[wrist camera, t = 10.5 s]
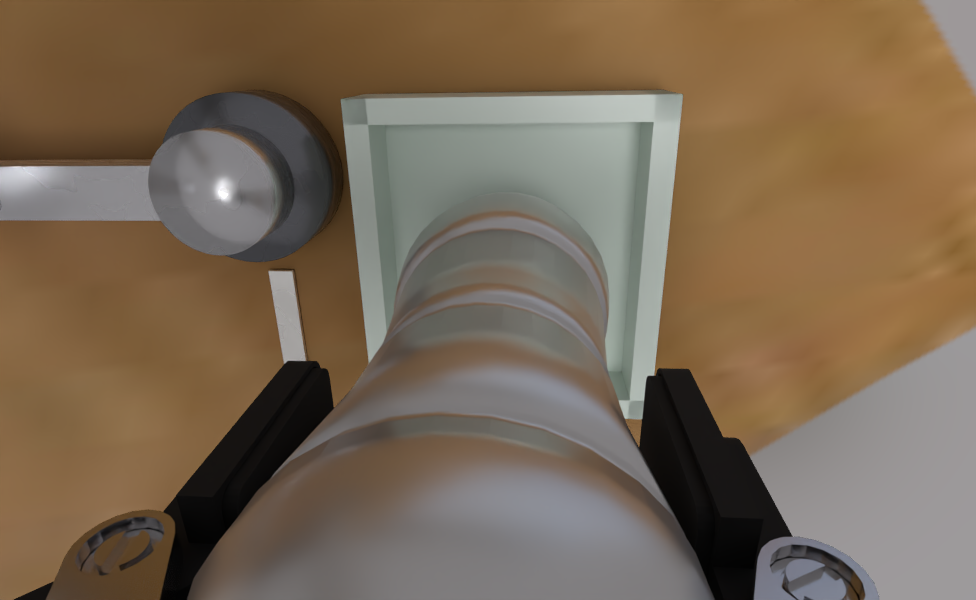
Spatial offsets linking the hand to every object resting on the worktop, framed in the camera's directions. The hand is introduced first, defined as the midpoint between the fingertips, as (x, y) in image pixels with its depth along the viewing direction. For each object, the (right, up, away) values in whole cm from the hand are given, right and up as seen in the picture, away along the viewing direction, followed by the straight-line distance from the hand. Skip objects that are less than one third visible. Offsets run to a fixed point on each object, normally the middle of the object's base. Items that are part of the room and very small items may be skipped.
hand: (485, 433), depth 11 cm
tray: (+1, +5, +12) cm, 12 cm away
